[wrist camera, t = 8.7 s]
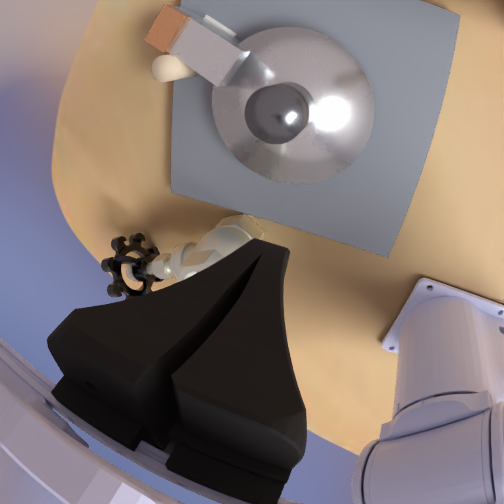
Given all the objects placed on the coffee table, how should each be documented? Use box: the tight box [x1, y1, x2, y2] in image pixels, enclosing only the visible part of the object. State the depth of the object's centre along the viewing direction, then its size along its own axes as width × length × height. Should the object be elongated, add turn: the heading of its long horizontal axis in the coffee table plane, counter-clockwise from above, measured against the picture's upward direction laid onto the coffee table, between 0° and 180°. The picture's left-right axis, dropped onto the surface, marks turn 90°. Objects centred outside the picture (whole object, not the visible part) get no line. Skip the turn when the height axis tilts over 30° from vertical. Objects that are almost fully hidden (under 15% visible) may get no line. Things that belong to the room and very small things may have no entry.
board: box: [151, 0, 460, 258], centre depth 16 cm, size 16×16×4 cm
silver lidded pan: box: [144, 4, 374, 185], centre depth 15 cm, size 14×9×4 cm, turn 56°
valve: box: [101, 214, 264, 300], centre depth 24 cm, size 7×7×12 cm
